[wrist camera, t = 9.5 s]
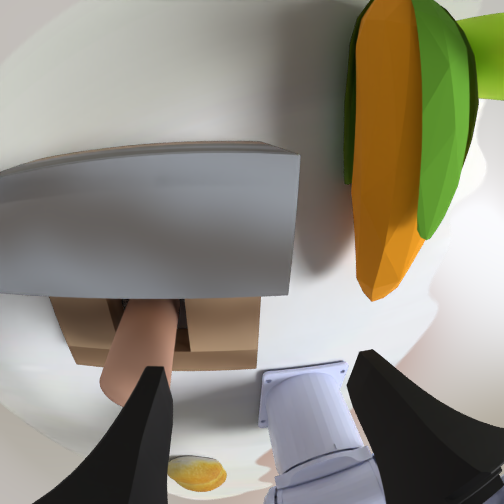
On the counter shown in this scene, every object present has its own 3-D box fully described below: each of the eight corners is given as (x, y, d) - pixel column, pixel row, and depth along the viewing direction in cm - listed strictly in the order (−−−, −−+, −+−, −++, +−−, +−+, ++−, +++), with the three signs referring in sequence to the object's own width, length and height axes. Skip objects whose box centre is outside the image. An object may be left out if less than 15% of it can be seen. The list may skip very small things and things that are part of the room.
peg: (179, 325, 20) (170, 415, 13) (132, 319, 20) (106, 405, 12) (181, 283, 19) (167, 374, 12) (129, 277, 18) (93, 362, 11)
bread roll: (215, 451, 30) (217, 477, 26) (229, 472, 34) (232, 493, 30) (156, 454, 29) (154, 478, 26) (178, 475, 33) (178, 496, 30)
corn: (495, 6, 6) (450, 331, 14) (426, 26, 13) (398, 273, 21) (384, -57, 5) (346, 345, 13) (334, -5, 12) (312, 273, 20)
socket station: (252, 345, 22) (268, 431, 15) (85, 343, 20) (55, 419, 13) (260, 141, 16) (300, 155, 8) (42, 158, 14) (-42, 188, 7)
